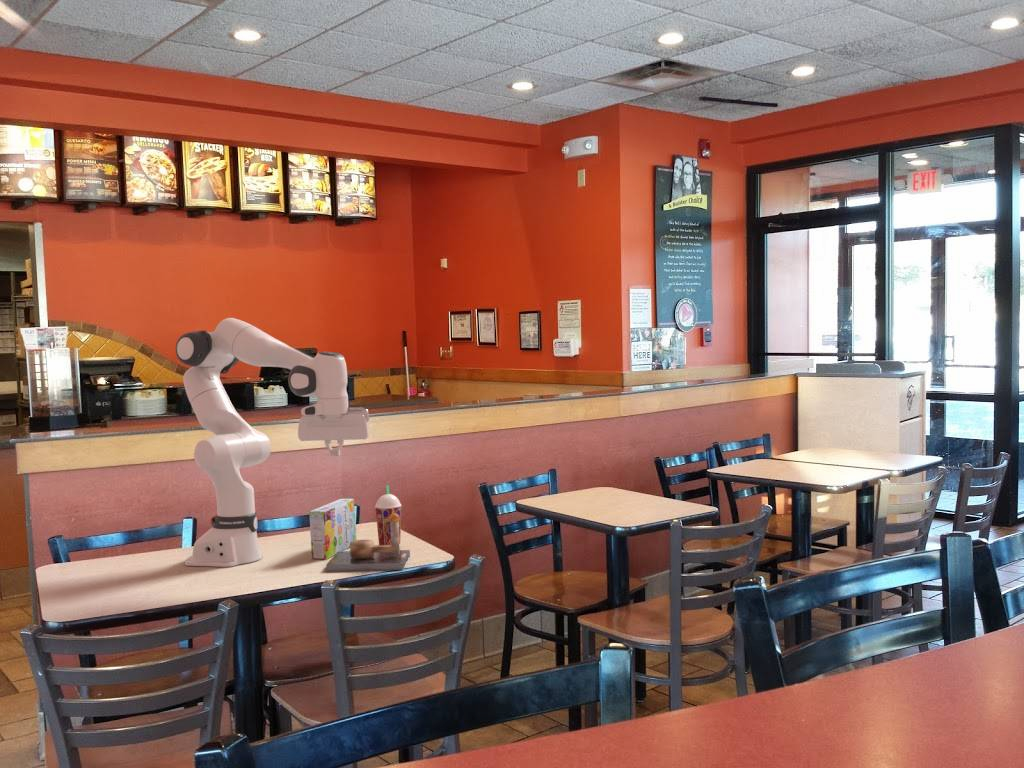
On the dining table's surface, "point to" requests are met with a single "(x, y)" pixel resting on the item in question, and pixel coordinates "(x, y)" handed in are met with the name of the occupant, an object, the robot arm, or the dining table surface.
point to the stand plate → (368, 562)
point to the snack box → (332, 528)
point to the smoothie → (387, 516)
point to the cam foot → (368, 548)
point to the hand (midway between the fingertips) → (334, 455)
